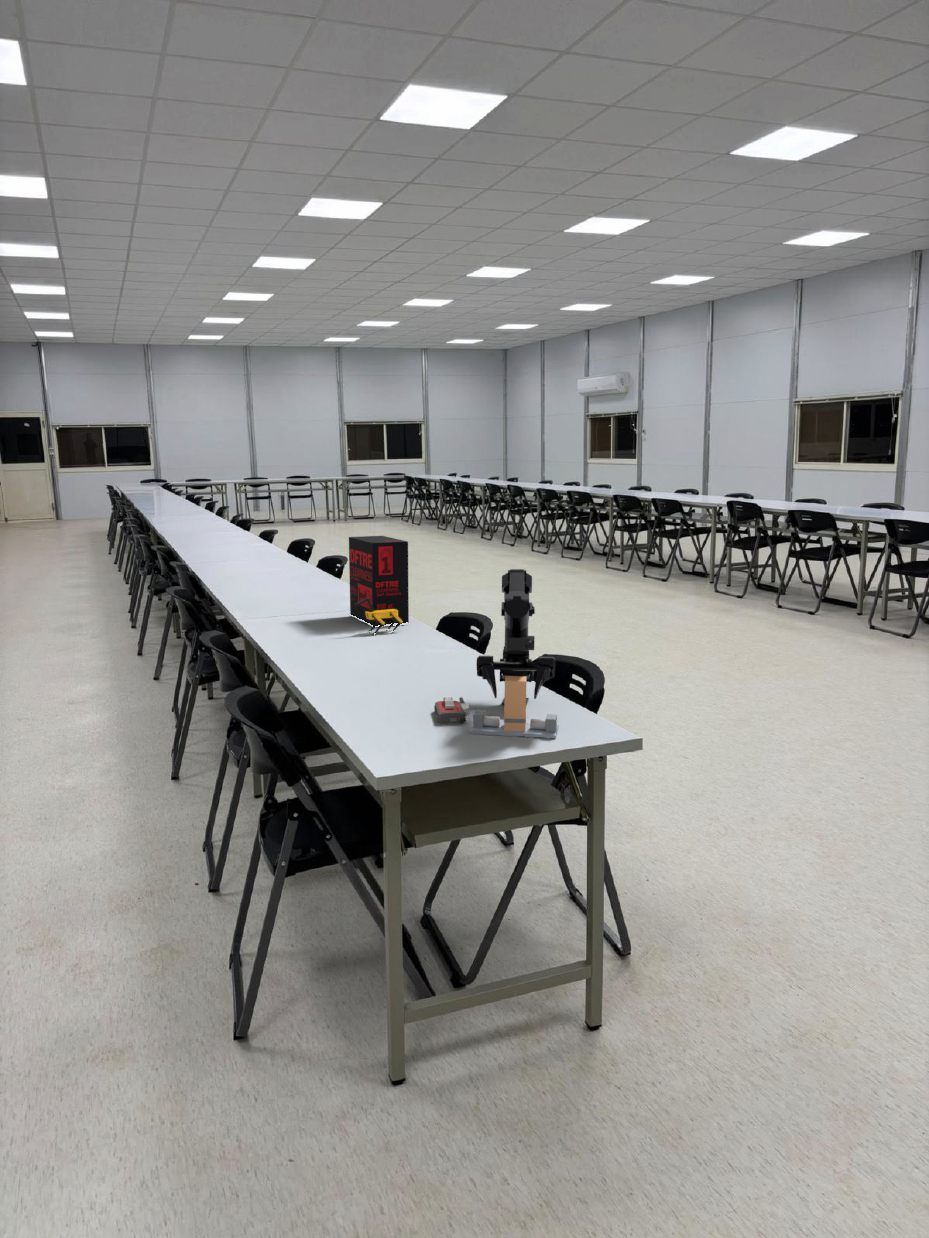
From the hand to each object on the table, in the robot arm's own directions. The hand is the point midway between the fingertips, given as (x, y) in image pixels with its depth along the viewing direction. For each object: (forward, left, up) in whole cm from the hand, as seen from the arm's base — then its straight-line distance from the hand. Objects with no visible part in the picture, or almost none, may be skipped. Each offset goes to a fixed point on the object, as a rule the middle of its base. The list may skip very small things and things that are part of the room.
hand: (515, 697), depth 207 cm
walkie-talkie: (-13, -18, -9) cm, 24 cm away
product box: (-130, -71, -9) cm, 148 cm away
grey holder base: (-1, 0, -9) cm, 9 cm away
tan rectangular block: (-1, 0, -8) cm, 8 cm away
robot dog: (-106, -64, -9) cm, 125 cm away
